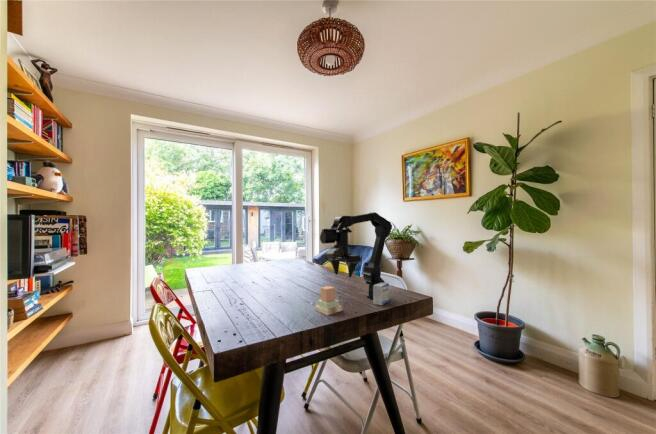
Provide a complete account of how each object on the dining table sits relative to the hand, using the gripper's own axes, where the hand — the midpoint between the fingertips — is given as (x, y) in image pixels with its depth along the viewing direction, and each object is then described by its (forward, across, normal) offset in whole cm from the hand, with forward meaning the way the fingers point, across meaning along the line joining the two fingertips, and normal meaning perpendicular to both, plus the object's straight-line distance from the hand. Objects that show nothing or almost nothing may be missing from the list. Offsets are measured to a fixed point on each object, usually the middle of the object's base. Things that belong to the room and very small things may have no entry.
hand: (343, 275), depth 121 cm
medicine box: (+13, +11, +13) cm, 22 cm away
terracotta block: (+9, +2, -11) cm, 14 cm away
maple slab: (+14, +2, -11) cm, 18 cm away
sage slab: (+11, +2, -11) cm, 16 cm away
